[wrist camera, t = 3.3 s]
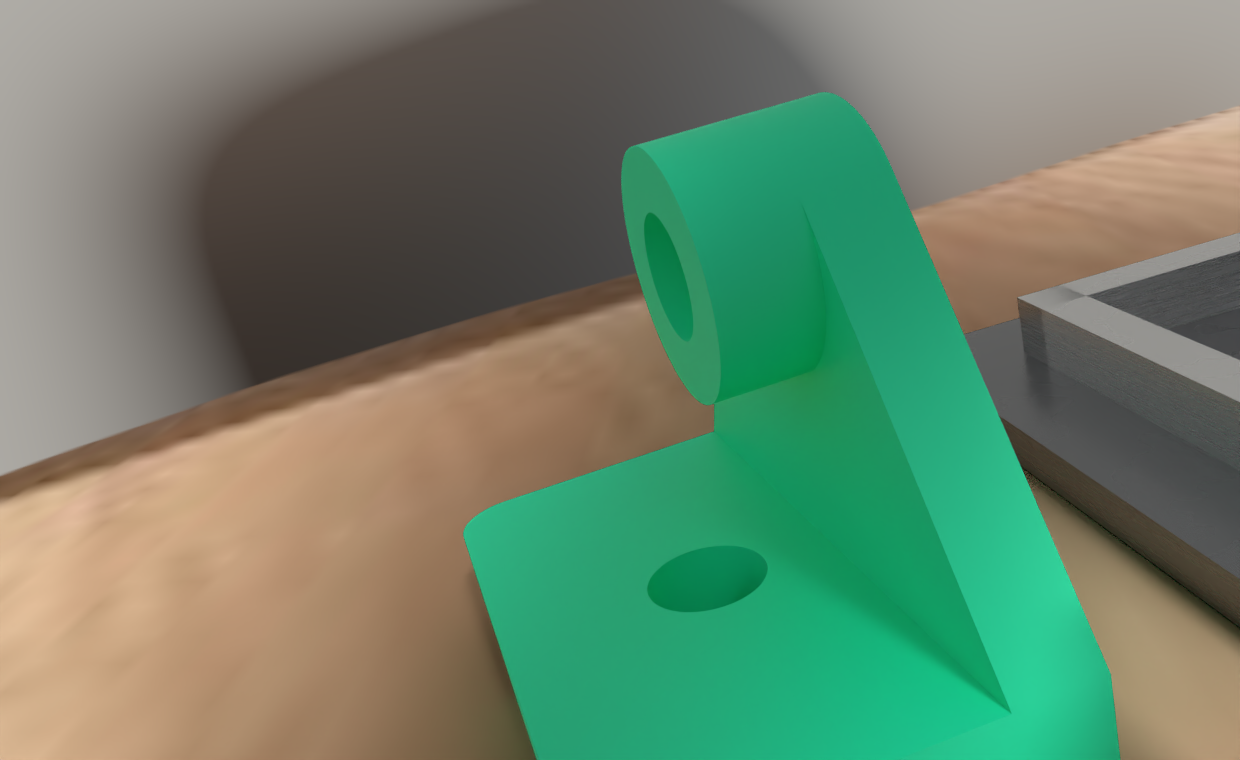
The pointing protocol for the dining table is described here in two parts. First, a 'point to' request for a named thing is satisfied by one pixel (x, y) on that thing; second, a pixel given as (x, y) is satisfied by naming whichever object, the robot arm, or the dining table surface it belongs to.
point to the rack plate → (1135, 406)
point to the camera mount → (795, 496)
